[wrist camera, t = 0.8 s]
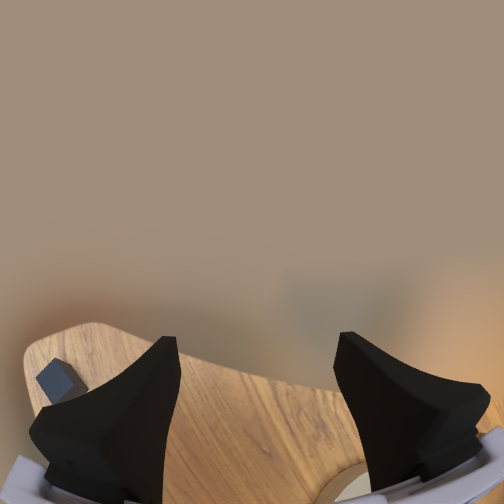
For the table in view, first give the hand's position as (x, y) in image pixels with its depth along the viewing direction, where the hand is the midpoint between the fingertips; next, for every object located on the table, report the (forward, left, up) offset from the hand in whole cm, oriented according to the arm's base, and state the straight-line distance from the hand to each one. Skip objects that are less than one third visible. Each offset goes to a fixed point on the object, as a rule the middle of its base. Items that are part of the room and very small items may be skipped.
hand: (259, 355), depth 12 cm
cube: (-13, +12, -17) cm, 25 cm away
